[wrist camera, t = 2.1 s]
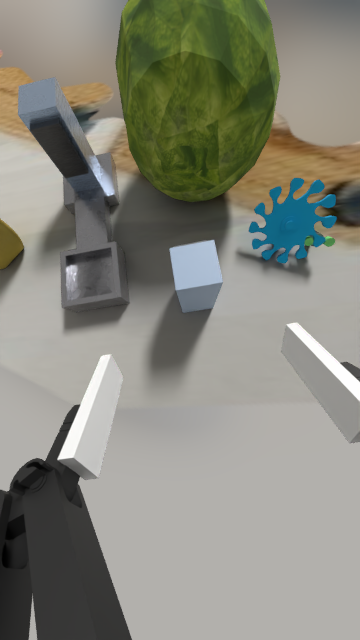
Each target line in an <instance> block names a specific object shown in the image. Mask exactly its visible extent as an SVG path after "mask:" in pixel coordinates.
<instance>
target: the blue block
mask: <svg viewBox="0 0 360 640" xmlns="http://www.w3.org/2000/svg"><path fill="white" fill-rule="evenodd" d="M169 249H170V255H171V262H172V268H173V275H174V281H175V288H176V292H177V295H178V299H179V302H180V305H181V308H182V311H183V313H186V312H192V311H198V310H204V309H210V308H213V307H214V304H215V301H216V299H217V296H218V294H219V291H220V288H221V286H222V283H223V280H222V275H221V271H220V266H219V261H218V256H217V251H216V247H215V242H214V240H210V241H208V240H203V241H198V242H193V243H187V244H182V245H177V246H174V247H173V248H169Z"/></svg>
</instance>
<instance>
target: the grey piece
mask: <svg viewBox="0 0 360 640" xmlns="http://www.w3.org/2000/svg"><path fill="white" fill-rule="evenodd" d="M18 116H19V117H20V118H21V120H22V121H23V122H24V124H25V125H26V126H27V128H28V129H29V130H30V132H31V133H32V134H33V136H34V137H35V138H36V140H37V141H38V142H39V144H40V145H41V146H42V148H43V149H44V150H45V152H46V153H47V154H48V156H49V157H50V159H51V160H52V161H53V163H54V164H55V165H56V167H57V168H58V169H59V171H60V172H61V173H62V175H63V185H64V205H65V206H66V207H67V209H68V210H69V211H70V212H71V213H72V214H75V223H76V245H77V249H73V250H68V251H63V252H60V260H61V297H62V307H63V308H66V309H68V310H71V311H74V312H81V311H87V310H92V309H98V308H104V307H110V306H116V305H121V304H127V303H129V294H128V284H127V274H126V264H125V254H124V252H123V250H122V249H121V248H120V246H119V245H118V243H117V242H116V241H115V242H113V241H112V230H111V218H110V207H109V206H114V205H119V195H118V185H117V176H116V166H115V162H114V160H113V158H112V155H111V153H105V154H101V155H96V156H95V155H94V153H93V151H92V149H91V147H90V145H89V143H88V141H87V139H86V137H85V135H84V133H83V131H82V129H81V127H80V125H79V123H78V121H77V119H76V117H75V115H74V113H73V111H72V109H71V107H70V105H69V103H68V102H67V100H66V98H65V96H64V94H63V92H62V90H61V88H60V86H59V84H58V82H57V80H56V78H55V77H53V78H50V79H45V80H41V81H37V82H33V83H29V84H25V85H21V86H19V98H18Z"/></svg>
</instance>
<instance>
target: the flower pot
mask: <svg viewBox="0 0 360 640" xmlns="http://www.w3.org/2000/svg"><path fill="white" fill-rule="evenodd" d="M23 248H24V246H23V243H22V241H21V239H20V238H19V236H18V235H17V234H16V233H15V231H14V230H13V229H12V228H11V227H9V226H8V225H7V224H6V223H5V222H4V221H2V220H1V219H0V269H4V268H6V267H7V266H8V265H9V264H10V263H11V261H12V260H13V259H14V258H15V257H16V256H17V255H18V254H19V253H20V252H21V251H22V250H23Z"/></svg>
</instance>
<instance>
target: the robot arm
mask: <svg viewBox="0 0 360 640" xmlns="http://www.w3.org/2000/svg"><path fill="white" fill-rule="evenodd" d="M281 353H282V354H283V355H284V357H285V358H286V359H287V361H288V362H289V363H290V365H291V366H292V367H293V369H294V370H295V371H296V373H297V374H298V375H299V377H300V378H301V379H302V381H303V382H304V383H305V385H306V386H307V387H308V389H309V390H310V391H311V393H312V394H313V395H314V397H315V398H316V399H317V401H318V402H319V403H320V405H321V406H322V407H323V408H324V410H325V411H326V413H327V414H328V415H329V417H330V418H331V419H332V421H333V422H334V423H335V424H336V426H337V427H338V429H339V430H340V431H341V433H342V434H343V435H344V437H345V438H346V439H347V441H348V442H349V443H355V442H360V369H359V368H357V367H355V366H354V365H352V364H350V363H348V362H342V363H339V362H338V361H337V360H336V359H335V358H334V357H333V356H332V355H331V354H330V353H328V352H327V351H326V350H325V349H324V348H323V347H322V346H321V345H320V344H319V343H318V342H317V341H316V340H315V339H314V338H313V337H312V336H310V335H309V334H308V333H307V332H306V331H305V330H304V329H303V328H302V327H301V326H300V325H299V324H298V323H291V324H286V327H285V333H284V338H283V343H282V348H281ZM123 378H124V377H123V376H122V374H121V372H120V370H119V368H118V366H117V364H116V362H115V360H114V359H113V357H112V355H111V354H109V355H103V356H101V358H100V360H99V363H98V365H97V367H96V370H95V372H94V374H93V377H92V379H91V382H90V384H89V386H88V389H87V391H86V393H85V396H84V398H83V400H82V403H81V404H80V405H74V406H73V407H72V409H71V410H70V411H69V413H68V414H67V416H66V418H65V420H64V422H63V425H62V426H61V428H60V432H59V433H58V435H57V437H56V439H55V441H54V443H53V446H52V448H51V450H50V452H49V454H48V456H47V458H46V460H45V461H43V460H42V459H39V458H36V459H32V460H30V461H29V462H27V463H26V464H25V465H24V466H22V467H21V468H20V469H19V471H18V472H17V473H16V475H15V476H14V478H13V480H12V482H11V484H10V490H9V491H7V492H6V491H3V490H0V640H28V639H29V628H30V616H31V604H32V593H33V601H34V611H35V621H36V630H37V640H132V639H131V636H130V633H129V630H128V627H127V624H126V621H125V618H124V615H123V612H122V609H121V607H120V603H119V600H118V598H117V594H116V592H115V589H114V586H113V583H112V580H111V577H110V574H109V571H108V568H107V565H106V562H105V559H104V556H103V553H102V550H101V548H100V545H99V542H98V539H97V536H96V533H95V530H94V527H93V524H92V521H91V518H90V515H89V512H88V509H87V506H86V504H85V501H84V498H83V495H82V492H81V489H80V486H79V485H78V481H79V478H80V477H82V478H83V479H84V480H88V479H95V478H99V475H100V471H101V466H102V463H103V459H104V455H105V450H106V446H107V442H108V438H109V434H110V430H111V426H112V422H113V417H114V414H115V410H116V406H117V402H118V398H119V394H120V390H121V386H122V382H123Z"/></svg>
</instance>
